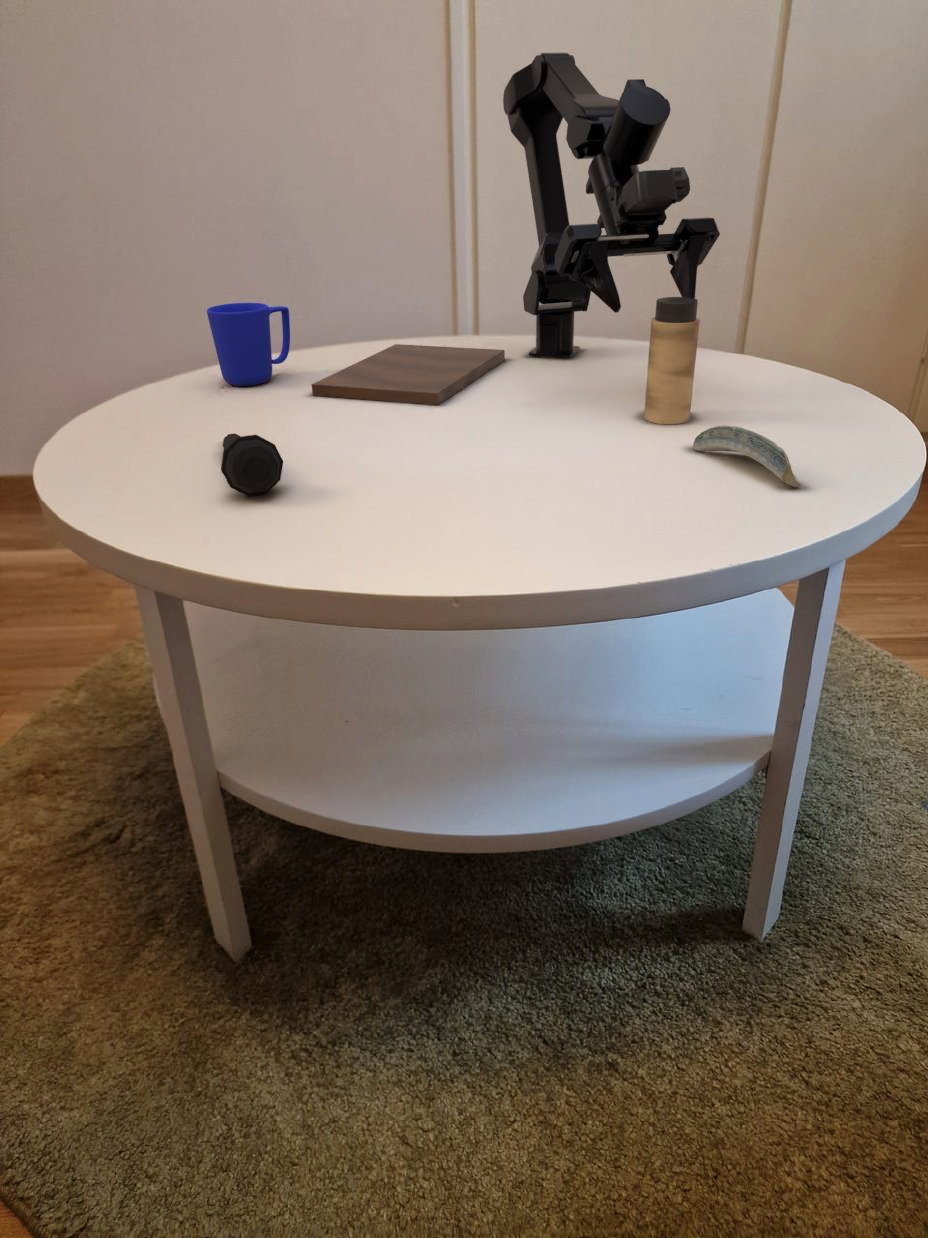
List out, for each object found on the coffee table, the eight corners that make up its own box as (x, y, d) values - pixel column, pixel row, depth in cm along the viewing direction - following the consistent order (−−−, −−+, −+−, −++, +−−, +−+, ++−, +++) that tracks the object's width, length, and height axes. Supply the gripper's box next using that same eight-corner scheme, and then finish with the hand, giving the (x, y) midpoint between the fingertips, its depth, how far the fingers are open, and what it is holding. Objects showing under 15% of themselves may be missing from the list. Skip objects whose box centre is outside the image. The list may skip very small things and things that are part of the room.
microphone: (219, 472, 95) (244, 512, 78) (193, 425, 93) (213, 455, 75) (262, 450, 96) (298, 485, 79) (238, 403, 94) (269, 428, 76)
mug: (311, 375, 122) (303, 301, 118) (240, 392, 115) (228, 314, 110) (277, 367, 127) (268, 296, 123) (207, 383, 120) (194, 308, 115)
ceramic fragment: (690, 448, 89) (694, 411, 87) (731, 441, 91) (736, 405, 89) (781, 493, 78) (788, 453, 76) (826, 484, 79) (834, 444, 77)
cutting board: (396, 353, 133) (395, 343, 133) (504, 359, 128) (504, 349, 127) (312, 395, 112) (311, 384, 112) (438, 405, 107) (437, 393, 106)
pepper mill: (648, 410, 102) (657, 295, 96) (692, 413, 100) (704, 296, 94) (639, 422, 98) (648, 303, 91) (686, 425, 96) (698, 304, 90)
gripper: (566, 143, 92) (602, 264, 88) (721, 138, 96) (762, 253, 92) (540, 219, 103) (571, 330, 99) (681, 211, 107) (716, 317, 103)
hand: (655, 307), depth 98 cm, fingers open, 9 cm apart
